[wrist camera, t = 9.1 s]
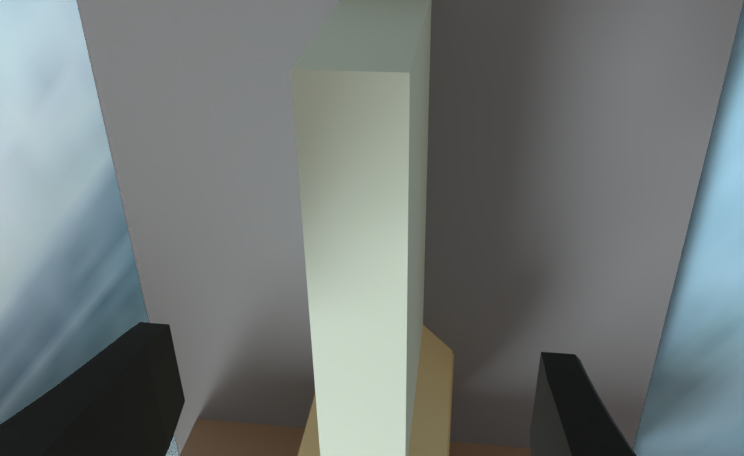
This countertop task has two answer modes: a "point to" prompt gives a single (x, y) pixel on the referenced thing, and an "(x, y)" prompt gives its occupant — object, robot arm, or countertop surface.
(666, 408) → the countertop surface
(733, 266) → the countertop surface
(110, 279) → the countertop surface
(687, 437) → the countertop surface
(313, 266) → the door
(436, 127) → the cabinet base
